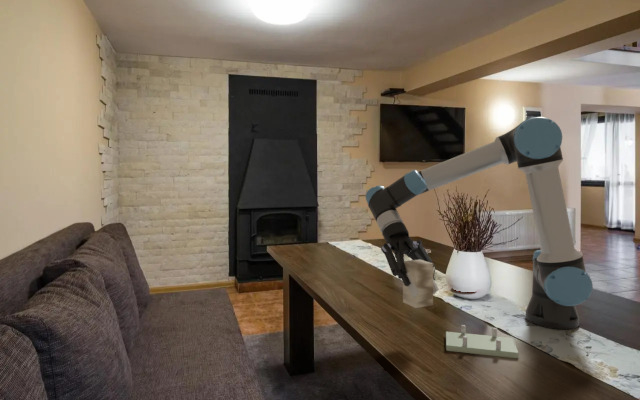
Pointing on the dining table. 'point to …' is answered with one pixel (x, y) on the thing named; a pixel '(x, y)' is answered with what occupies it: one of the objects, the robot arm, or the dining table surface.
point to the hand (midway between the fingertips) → (425, 293)
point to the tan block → (419, 283)
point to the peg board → (481, 344)
